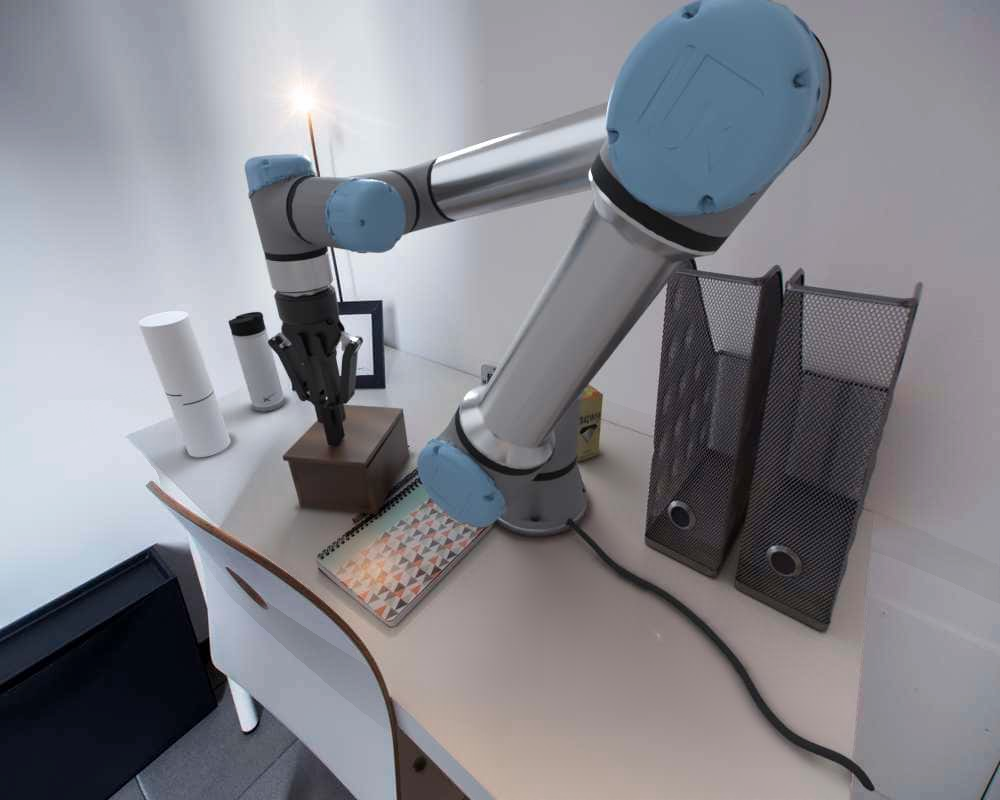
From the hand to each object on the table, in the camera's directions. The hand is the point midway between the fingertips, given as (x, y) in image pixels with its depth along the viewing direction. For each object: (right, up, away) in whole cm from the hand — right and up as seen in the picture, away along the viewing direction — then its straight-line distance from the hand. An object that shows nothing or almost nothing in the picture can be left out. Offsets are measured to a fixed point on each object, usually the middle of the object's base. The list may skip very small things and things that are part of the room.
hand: (336, 440), depth 79 cm
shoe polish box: (+38, -3, +14) cm, 41 cm away
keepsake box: (+1, -7, +9) cm, 11 cm away
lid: (+1, +1, +4) cm, 4 cm away
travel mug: (-24, +5, +32) cm, 40 cm away
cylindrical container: (-29, -3, +19) cm, 35 cm away
